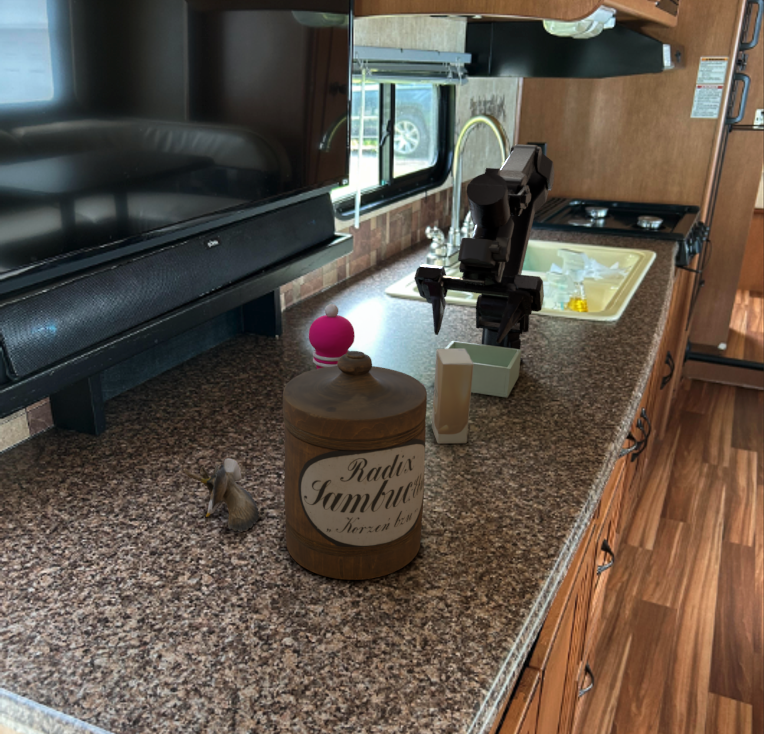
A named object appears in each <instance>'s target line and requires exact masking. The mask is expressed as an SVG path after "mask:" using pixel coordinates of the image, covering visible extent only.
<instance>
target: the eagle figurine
mask: <svg viewBox="0 0 764 734" xmlns="http://www.w3.org/2000/svg"><path fill="white" fill-rule="evenodd" d="M240 469H241V467H240V465H239V463H238V461H236V460H235V459H233V458H227V457H226V458H225V459H224V460H223V464H221V465H220V469H219V465H218V464H215V467H214V471H213V473H212V474H211V476H209V473H208V471H207V469H206V468H205V466H201V468H200V470H199V474H197V473H194V472H192V471H190V470H189V469H188V468H183V469H182V471H183V472H184V473H185V475H186V476H188V477H189V478H191V479H193V480H196V481H198V482H200V483H201V484H203V485H204V487H206V488H207V490H208V492H209V493H210V495H209V496H210V497H209V502H208V507H207V512H206V515H205V517H206V518H208V517H210V515H212V514H214V513H215V512H216V510H217V508H218V506H219V504H220V503H222V502H223V503H225V505H226V507H227V508H226V509H227V511H228V518H227V526H228V529H229V530H232V531H234V532H237V531H238V532H239V533H243V532H247V531H249V529H252V528H253V526H254V525H256V524H257V521H258V520H259V518H260V516H259V515H260V511H259V507H258V505H257V503H256V502H255V499H254V497H253V496H252V495H251V493H250V492H249V491H247V489H245V488H244V487H242V486H241V485H240V484H238V483H237V482H238V481H240V480H241V479H242V472H241V470H240Z"/></svg>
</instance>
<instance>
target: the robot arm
mask: <svg viewBox="0 0 764 734" xmlns="http://www.w3.org/2000/svg"><path fill="white" fill-rule="evenodd" d="M542 150H543V149H542V147H541V146H538V145H537V144H523V143H521V144H519V143H517V144H515V145H512V146H511V147H510V152H509V155H508V157H507V158H506V160H505V162H504V163H503V165H502V166H501V168H496V167H495V168H494V167H486V168H485V170H484V173H482V174H478V175H477V176H475V177H474V178H473V179H472V180H471V181H470V182H469V183H468V184H467V186H466V196H467V202H468V206H469V212H470V217H471V222H472V223H473V225H475V226H474V230H473V233H472V237H461V238H460V243H459V244H460V245H459V250H458V256H457V261H458V262H460V263H459V266H458V269H459V273H462V275H461V277H460V276H451V275H447V272H446V269H445V266H443V265H442V266H440V265H432V264H420V266H419V267H418V268H417V269H416V271H415V274H414V277H413V279H414V282H415V285H416V288H417V291H418V293H419V297H421V298H423V299H425V300H426V302H427V303H428V304H431V309H432V320H433V321H432V322H433V331H434V335H435V336H438V335H439V333H440V331H441V328H442V324H443V319H444V315H445V310H446V307H447V301H446V298H447V295H448V292H449V291H456V292H463V293H472V294H473V293H474V294H478V296H477V298H476V303H475V329H482V331H481V343H480V344H482V345H490V346H497V347H505V348H513V349H520V350H521V343H522V339H521V338H520V337H521V335H523V334H524V333H527V332H529V330H530V321H531V320H530V319H531V318H530V316H531V315H532V312H535V313H536V312H537V313H538V312H540V311H541V312H542V310H543V304H544V297H545V293H544V292H545V291H544V290H545V289H544V280H543V279H542V277H541V276H539V275H538V276H537V275H530V274H529V275H528V274H523V273H522V272H523V268H524V263H525V259H526V255H527V252H528V251H527V250H528V245H529V241H530V236H531V233H532V232H531V231H532V227H533V223H534V218H535V213H536V212H538V210H539V209H540V208H542V207H543V206H544V205H545V204H546V202H547V200H548V195H549V192H550V191H552V190H553V188H554V182H555V168H554V161H553V160H552V159H550V158H549V157H548V156H546V155H545V154H544V153H543V151H542ZM523 361H524V358H523V357H521V358H520V363H521V362H523Z"/></svg>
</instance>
